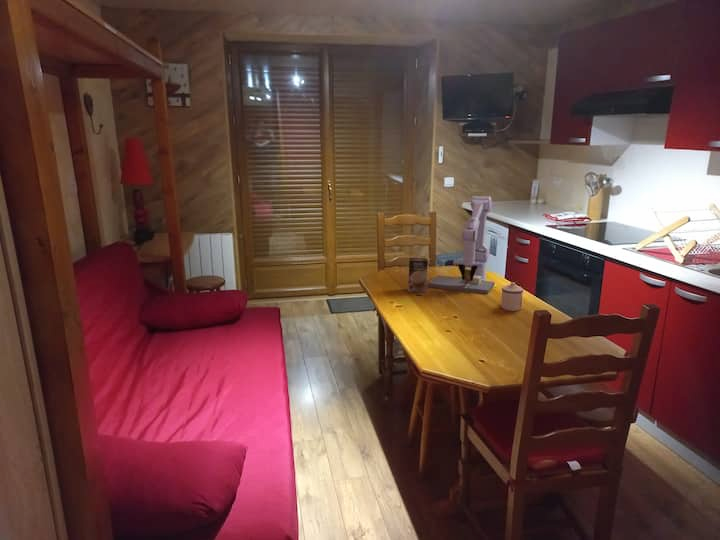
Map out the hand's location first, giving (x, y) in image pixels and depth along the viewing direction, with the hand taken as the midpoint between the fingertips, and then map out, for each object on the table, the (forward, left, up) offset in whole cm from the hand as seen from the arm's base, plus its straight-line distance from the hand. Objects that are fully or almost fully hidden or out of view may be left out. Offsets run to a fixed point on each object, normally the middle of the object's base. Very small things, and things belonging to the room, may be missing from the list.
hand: (467, 279), depth 244 cm
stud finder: (-7, +1, -3) cm, 8 cm away
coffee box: (+12, -22, -5) cm, 26 cm away
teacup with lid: (+18, +24, -5) cm, 30 cm away
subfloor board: (-4, -4, -5) cm, 7 cm away
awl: (0, 0, -2) cm, 2 cm away
